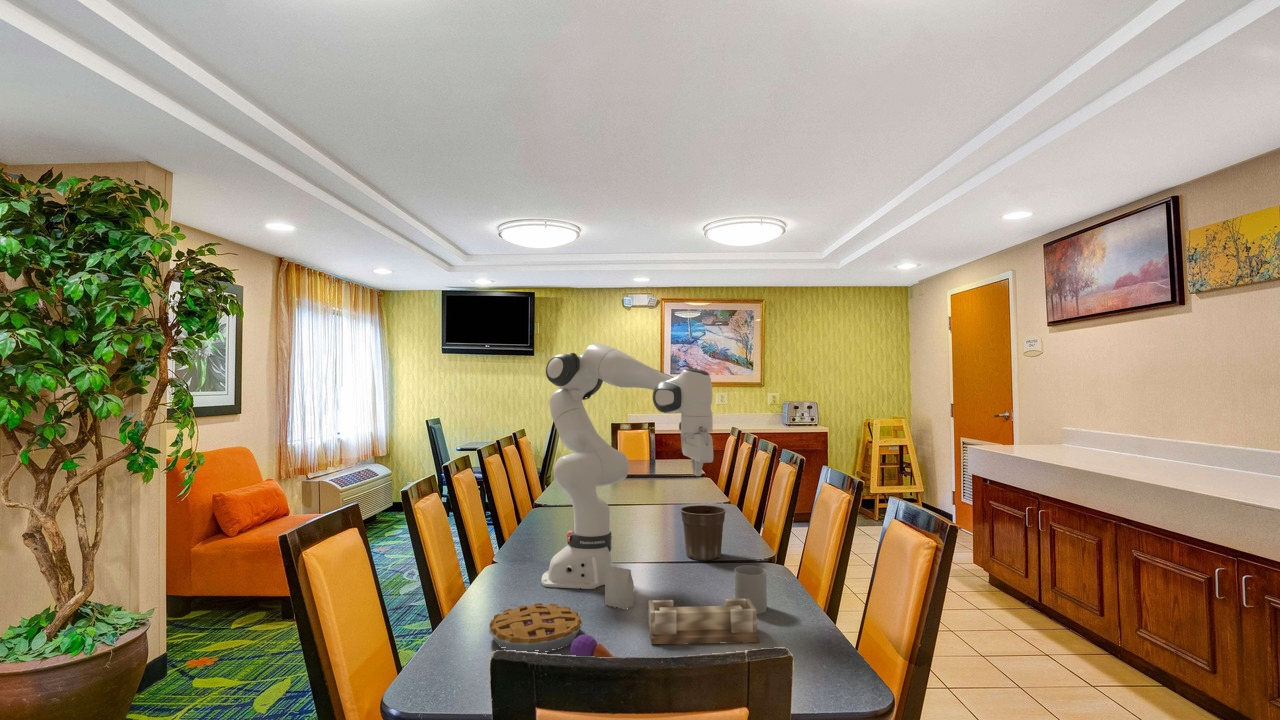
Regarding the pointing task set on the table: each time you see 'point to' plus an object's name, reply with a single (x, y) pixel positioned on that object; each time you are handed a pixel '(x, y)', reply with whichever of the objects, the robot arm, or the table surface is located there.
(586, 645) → the ice cream cone
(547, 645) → the pie
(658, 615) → the endcap rack
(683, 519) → the plant pot
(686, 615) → the slat
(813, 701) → the table surface
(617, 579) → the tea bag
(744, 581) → the cup
